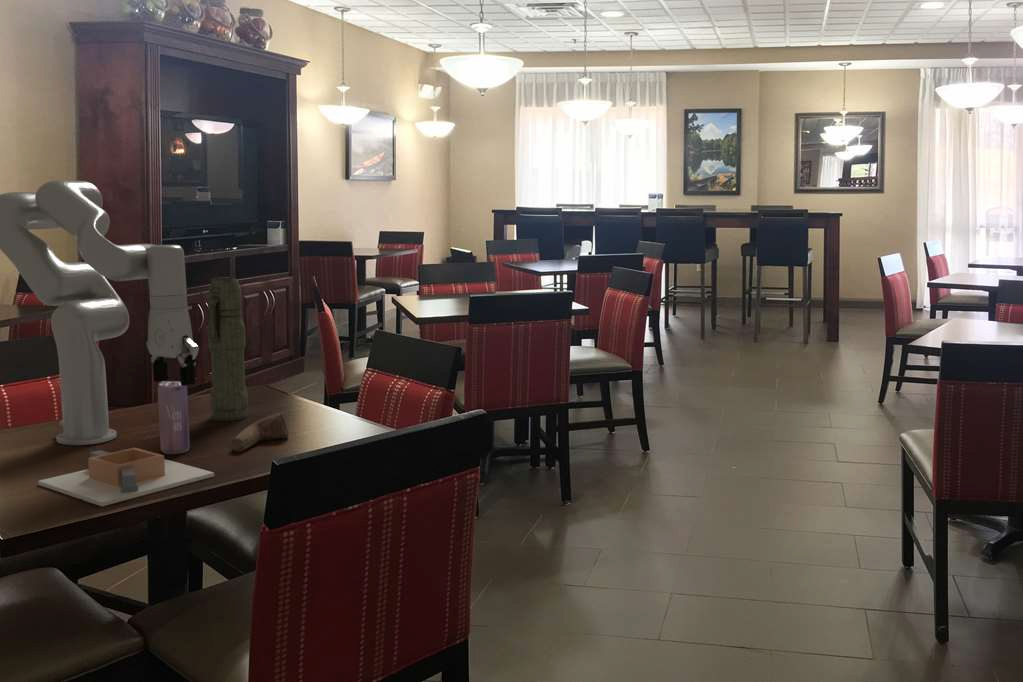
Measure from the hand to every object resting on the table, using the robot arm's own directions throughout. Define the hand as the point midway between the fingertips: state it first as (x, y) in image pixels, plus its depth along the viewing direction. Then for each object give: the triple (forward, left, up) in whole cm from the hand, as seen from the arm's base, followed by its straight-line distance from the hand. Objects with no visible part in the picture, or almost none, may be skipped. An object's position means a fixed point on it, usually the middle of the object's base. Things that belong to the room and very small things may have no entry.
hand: (174, 382), depth 214 cm
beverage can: (-1, 0, -15) cm, 15 cm away
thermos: (-19, +28, -15) cm, 37 cm away
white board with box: (+11, -19, -15) cm, 27 cm away
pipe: (+9, +16, -16) cm, 24 cm away
